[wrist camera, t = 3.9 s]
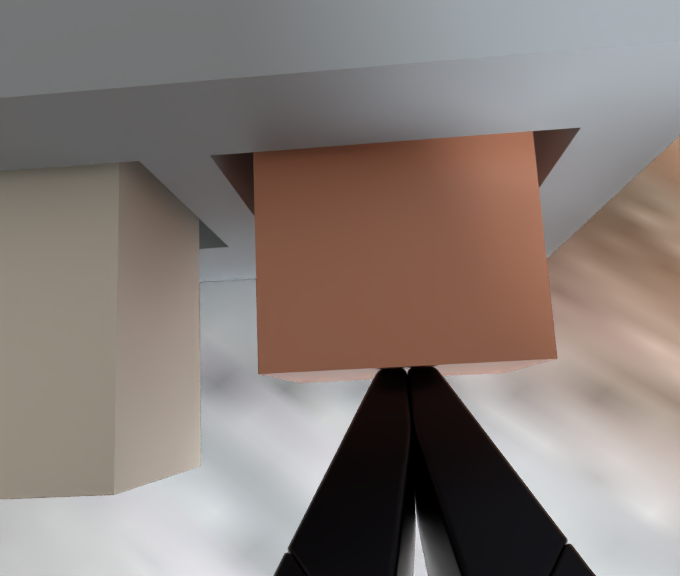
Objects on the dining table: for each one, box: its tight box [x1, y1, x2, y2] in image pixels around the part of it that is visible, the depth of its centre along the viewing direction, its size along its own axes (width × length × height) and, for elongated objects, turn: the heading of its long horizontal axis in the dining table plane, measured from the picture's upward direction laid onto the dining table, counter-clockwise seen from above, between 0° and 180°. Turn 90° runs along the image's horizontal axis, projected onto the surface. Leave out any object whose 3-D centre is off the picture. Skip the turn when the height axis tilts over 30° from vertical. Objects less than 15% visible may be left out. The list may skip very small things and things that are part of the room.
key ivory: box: [0, 161, 201, 499], centre depth 11 cm, size 6×4×4 cm, turn 3°
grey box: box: [0, 0, 680, 282], centre depth 13 cm, size 7×14×10 cm, turn 93°
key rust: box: [253, 131, 557, 383], centre depth 11 cm, size 6×4×4 cm, turn 3°
